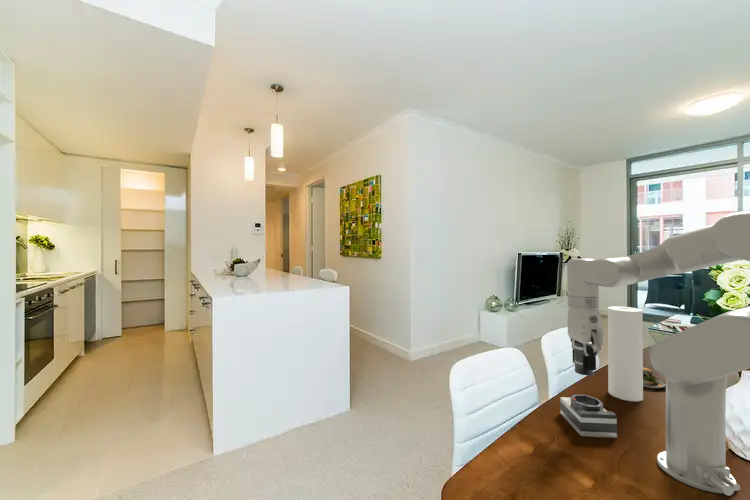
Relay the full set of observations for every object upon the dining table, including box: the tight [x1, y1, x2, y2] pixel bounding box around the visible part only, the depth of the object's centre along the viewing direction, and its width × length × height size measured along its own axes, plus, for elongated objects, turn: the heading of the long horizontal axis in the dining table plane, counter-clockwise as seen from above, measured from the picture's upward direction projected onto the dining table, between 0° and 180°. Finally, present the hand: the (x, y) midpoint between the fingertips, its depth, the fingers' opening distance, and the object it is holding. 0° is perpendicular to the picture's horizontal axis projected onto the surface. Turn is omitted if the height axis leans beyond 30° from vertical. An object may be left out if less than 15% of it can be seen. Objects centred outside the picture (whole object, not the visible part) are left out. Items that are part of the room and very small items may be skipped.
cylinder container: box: [607, 305, 644, 402], centre depth 111 cm, size 9×9×30 cm
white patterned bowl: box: [643, 364, 666, 390], centre depth 120 cm, size 12×12×8 cm
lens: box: [574, 342, 594, 376], centre depth 92 cm, size 5×5×8 cm
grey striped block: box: [559, 394, 618, 439], centre depth 93 cm, size 12×9×7 cm
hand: (584, 365), depth 92 cm, fingers closed on lens, 4 cm apart
